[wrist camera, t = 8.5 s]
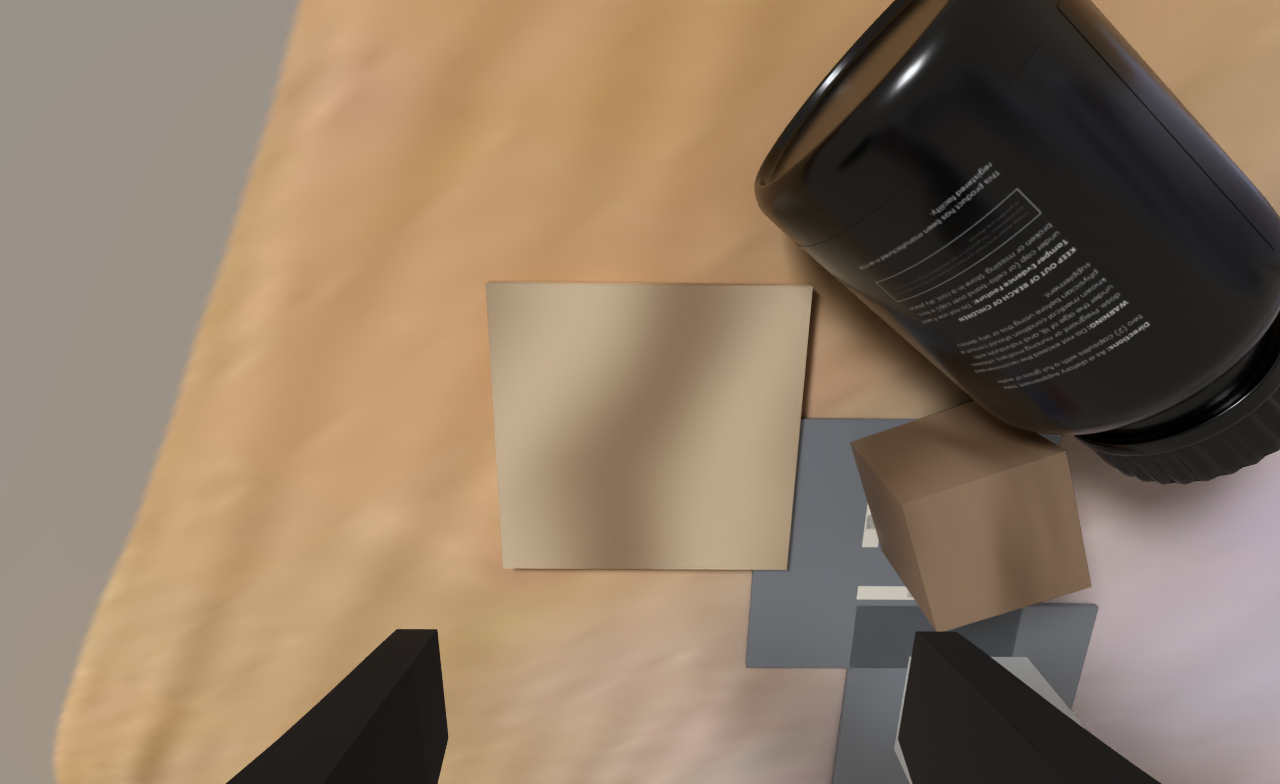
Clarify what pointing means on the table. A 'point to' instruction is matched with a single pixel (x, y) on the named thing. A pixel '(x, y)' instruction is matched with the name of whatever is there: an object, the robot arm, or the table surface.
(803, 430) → the tile
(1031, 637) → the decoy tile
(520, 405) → the pad
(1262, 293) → the supplement bottle
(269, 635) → the table surface
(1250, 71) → the table surface
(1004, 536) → the walnut block
